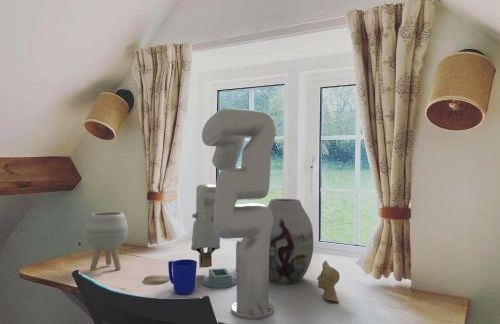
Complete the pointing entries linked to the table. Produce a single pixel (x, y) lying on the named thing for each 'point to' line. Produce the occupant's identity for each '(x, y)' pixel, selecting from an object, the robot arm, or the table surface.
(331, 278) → the tan head bust
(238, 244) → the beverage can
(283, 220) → the vase
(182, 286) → the mug
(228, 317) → the table surface
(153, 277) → the cork lid
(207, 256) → the block
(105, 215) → the planter
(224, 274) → the teal candle holder
